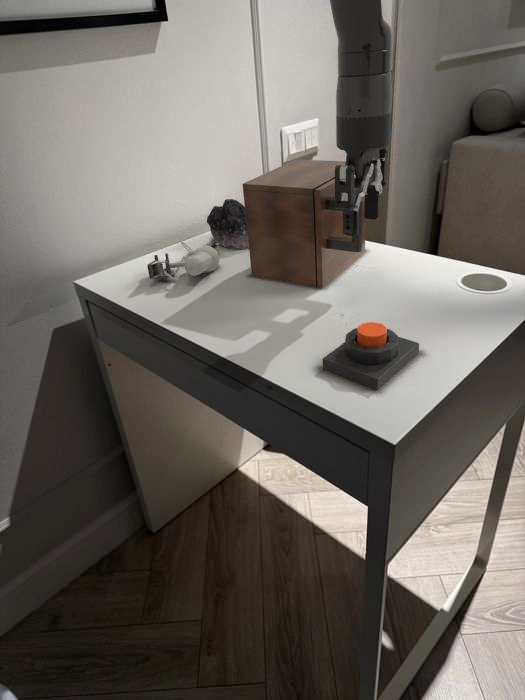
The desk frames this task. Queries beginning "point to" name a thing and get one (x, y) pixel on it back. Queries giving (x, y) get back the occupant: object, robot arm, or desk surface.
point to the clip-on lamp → (187, 262)
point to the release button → (371, 334)
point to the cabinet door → (334, 235)
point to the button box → (370, 359)
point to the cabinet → (285, 220)
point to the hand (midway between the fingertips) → (361, 226)
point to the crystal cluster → (229, 224)
